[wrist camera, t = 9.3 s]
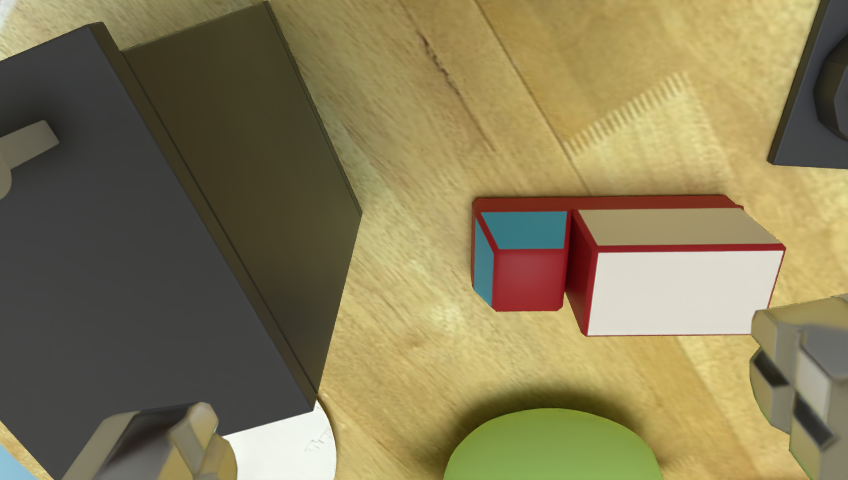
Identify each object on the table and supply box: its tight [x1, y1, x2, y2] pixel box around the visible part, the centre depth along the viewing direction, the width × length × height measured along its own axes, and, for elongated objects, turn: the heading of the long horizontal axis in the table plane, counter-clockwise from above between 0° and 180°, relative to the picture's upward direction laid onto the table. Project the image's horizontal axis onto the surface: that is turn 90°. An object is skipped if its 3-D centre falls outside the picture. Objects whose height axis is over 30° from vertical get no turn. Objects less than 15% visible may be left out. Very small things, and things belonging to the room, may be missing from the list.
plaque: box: [223, 399, 336, 480], centre depth 43 cm, size 20×20×2 cm
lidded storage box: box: [120, 1, 362, 394], centre depth 26 cm, size 13×11×16 cm
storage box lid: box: [0, 22, 317, 480], centre depth 17 cm, size 13×11×5 cm
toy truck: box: [471, 195, 786, 337], centre depth 32 cm, size 6×15×7 cm, turn 91°
